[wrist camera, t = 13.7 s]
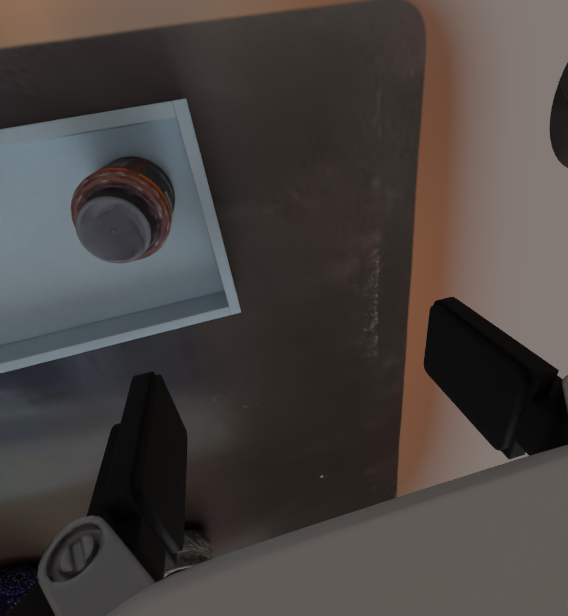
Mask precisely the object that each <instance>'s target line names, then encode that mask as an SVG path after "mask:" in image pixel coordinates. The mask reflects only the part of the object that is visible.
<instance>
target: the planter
mask: <svg viewBox="0 0 568 616" xmlns="http://www.w3.org/2000/svg"><path fill="white" fill-rule="evenodd" d="M38 567H39V565H21V566H14V567H8V568H4V569H1V570H0V616H5V615H6V614H7V613H8V612H9V611H10V610H11V609H12V608H13V607H14V606H15V605H16V604H17V603H18V602H19V601H20V600H21V599H22V598H23V597H24V596H25V595H26V594H27V593H28V592H29V591H30V590H31V589H32V587H33V586H34V585H35V584H36V583H37V582H38V576H37V574H38Z"/></svg>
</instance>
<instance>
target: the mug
mask: <svg viewBox="0 0 568 616" xmlns="http://www.w3.org/2000/svg"><path fill="white" fill-rule="evenodd" d="M212 555H213V554H212V547H211V543H210V540H209V539H208V537H207V536H206V535H205V534H203V533H202V532H200V531H197V530H184V545H183V550H182V551H180V552H177V566H176V567H173V568H169V569H166V570H165V571H164V578H166V577H168V576H170V575H172V574H175V573H177V572H180V571H182V570H185V569H187V568H190V567H192V566H195V565H197V564H200V563H202V562H205V561H208V560H211V559H212Z"/></svg>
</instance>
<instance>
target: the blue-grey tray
mask: <svg viewBox="0 0 568 616" xmlns="http://www.w3.org/2000/svg"><path fill="white" fill-rule="evenodd" d="M130 156H135V157H140V158H144V159H147V160H149V161H151V162H153V163H154V164H156V165H157V166H159V167H160V168H161V169H162V170H163V171H164V172H165V173H166V174H167V176H168V178H169V179H170V181H171V183H172V186H173V189H174V193H175V206H174V211H173V217H172V222H171V228H170V232H169V235H168V237H167V239H166V241H165V243H164V245H163V246H162V247H161V248H160V249H159V250H158V251H157V252H156V253H154V254H153V255H151V256H149V257H147V258H144V259H142V260H137V261H132V262H128V263H111V262H106V261H103V260H101V259H99V258H97V257H95V256H94V255H92V254H91V253H90V252H88V250H87V249H86V248H85V247H84V246H83V245H82V243H81V242H80V240H79V238H78V236H77V233H76V229H75V227H74V224H73V221H72V217H71V201H72V198H73V194H74V192H75V190H76V188H77V187H78V186H79V184H80V183H81V182H82V181H83V180H84V179H85V178H86V177H88V176H89V175H91V174H92V173H94V172H96V171H97V170H99V169H101V168H102V167H104V166H105V165H107V164H109V163H110V162H112V161H114V160H116V159H119V158H122V157H130ZM237 313H241V310H240V306H239V302H238V298H237V294H236V290H235V286H234V282H233V278H232V274H231V270H230V266H229V263H228V259H227V255H226V251H225V247H224V243H223V239H222V235H221V232H220V228H219V224H218V220H217V216H216V212H215V208H214V204H213V200H212V197H211V193H210V189H209V185H208V181H207V177H206V173H205V169H204V165H203V162H202V158H201V154H200V150H199V146H198V142H197V138H196V134H195V131H194V127H193V123H192V119H191V115H190V111H189V107H188V103H187V100H186V99H179V100H173V101H167V102H161V103H155V104H149V105H143V106H137V107H131V108H125V109H119V110H113V111H107V112H101V113H95V114H89V115H83V116H77V117H70V118H64V119H58V120H52V121H46V122H40V123H34V124H28V125H22V126H16V127H10V128H4V129H0V373H3V372H7V371H11V370H15V369H19V368H23V367H27V366H31V365H35V364H39V363H43V362H47V361H51V360H54V359H58V358H62V357H66V356H70V355H74V354H78V353H82V352H86V351H90V350H94V349H98V348H102V347H106V346H110V345H114V344H118V343H121V342H125V341H129V340H133V339H137V338H141V337H145V336H149V335H153V334H157V333H161V332H165V331H169V330H173V329H177V328H181V327H185V326H189V325H192V324H196V323H200V322H204V321H208V320H212V319H216V318H220V317H224V316H228V315H233V314H237Z"/></svg>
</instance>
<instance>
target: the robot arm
mask: <svg viewBox="0 0 568 616" xmlns="http://www.w3.org/2000/svg"><path fill="white" fill-rule="evenodd" d="M424 368H425V370H426V372H427V374H428V375H429V376H430V377H431V378H432V379H433V380H434V382H435V383H436V384H437V385H438V386H439V387H440V388H441V389H442V391H443V392H444V393H445V394H446V395H447V396H448V397H449V398H450V399H451V401H452V402H453V403H454V404H455V405H456V406H457V407H458V408H459V410H460V411H461V412H462V413H463V414H464V415H465V416H466V417H467V418H468V420H469V421H470V422H471V423H472V424H473V425H474V426H475V427H476V429H477V430H478V431H479V432H480V433H481V434H482V435H483V436H484V437H485V439H486V440H487V441H488V442H489V443H490V444H491V445H492V446H493V447H494V448H495V449H496V450H501V451H502V452H503V453H504V454H505V456H506V457H507V458H508V459H512V458H515V457H518V456H522V455H524V454H525V452H526V453H527V454H528V455H529V456H528V457H524V458H521V459H518V460H514V461H511V462H508V463H505V464H502V465H498V466H495V467H492V468H489V469H486V470H483V471H480V472H477V473H473V474H470V475H467V476H464V477H461V478H457V479H454V480H451V481H448V482H445V483H442V484H438V485H435V486H432V487H429V488H426V489H423V490H420V491H417V492H414V493H410V494H407V495H404V496H401V497H398V498H395V499H392V500H389V501H385V502H382V503H379V504H376V505H373V506H370V507H367V508H364V509H361V510H358V511H354V512H351V513H348V514H345V515H342V516H339V517H336V518H333V519H330V520H327V521H324V522H321V523H318V524H315V525H312V526H309V527H306V528H302V529H299V530H296V531H293V532H290V533H287V534H284V535H281V536H278V537H275V538H272V539H269V540H266V541H263V542H260V543H257V544H254V545H251V546H248V547H245V548H243V549H240V550H237V551H234V552H231V553H228V554H225V555H222V556H220V557H217V558H214V559H211V560H208V561H205V562H202V563H200V564H197V565H195V566H192V567H190V568H187V569H185V570H182V571H180V572H177V573H175V574H172V575H170V576H168V577H166V578H164V571H165V570H166V569H169V568H173V567H176V566H177V552H180V551H182V550H183V545H184V522H185V494H186V466H187V432H186V429H185V427H184V424H183V422H182V420H181V418H180V415H179V413H178V411H177V409H176V407H175V404H174V402H173V400H172V398H171V396H170V393H169V391H168V389H167V387H166V385H165V382H164V380H163V378H162V376H161V375H160V374H159V375H155V374H154V372H148V373H144V374H140V375H136V376H134V377H133V378H132V381H131V385H130V389H129V393H128V397H127V401H126V405H125V408H124V412H123V416H122V420H121V423H119V424H116V425H114V426H113V427H112V430H111V432H110V436H109V439H108V443H107V446H106V450H105V453H104V457H103V460H102V464H101V467H100V471H99V475H98V478H97V482H96V485H95V489H94V492H93V496H92V499H91V503H90V506H89V510H88V514H87V517H82V518H80V519H78V520H76V521H74V522H72V523H71V524H69V525H68V526H67V527H65V528H64V529H63V530H61V531H60V532H59V533H58V534H57V536H56V537H55V538H54V539H53V540H52V541H51V542H50V544H49V545H48V547H47V548H46V550H45V551H44V553H43V556H42V558H41V560H40V563H39V567H38V574H37V576H38V582H37V583H36V584H35V585H34V586H33V587H32V589H31V590H30V591H29V592H28V593H27V594H26V595H25V596H24V597H23V598H22V599H21V600H20V601H19V602H18V603H17V604H16V605H15V606H14V607H13V608H12V609H11V610H10V611H9V612H8V613H7V614H6V615H5V616H568V375H567V376H566V377H565V378H564V379H561V378H560V377H559V376H557V374H558V371H559V370H557V369H556V368H554V367H553V366H552V365H550V364H549V363H547V362H546V361H545V360H543V359H542V358H540V357H539V356H537V355H536V354H534V353H533V352H532V351H530V350H529V349H527V348H526V347H525V346H523V345H522V344H520V343H519V342H518V341H516V340H514V339H513V338H512V337H510V336H509V335H507V334H506V333H505V332H503V331H502V330H500V329H499V328H498V327H496V326H495V325H493V324H492V323H490V322H489V321H487V320H486V319H485V318H483V317H482V316H480V315H479V314H478V313H476V312H475V311H473V310H472V309H470V308H469V307H467V306H466V305H465V304H463V303H462V302H460V301H459V300H457V299H456V298H454V297H449V298H445V299H441V300H437V301H435V303H434V305H433V306H432V307H431V308H430V315H429V322H428V331H427V340H426V348H425V357H424Z"/></svg>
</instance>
